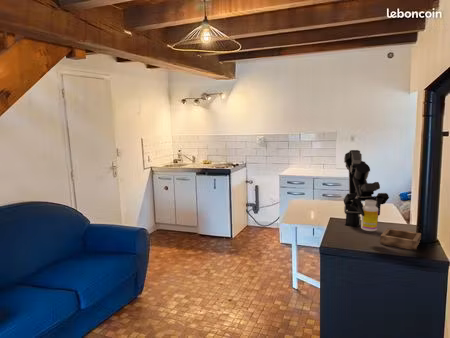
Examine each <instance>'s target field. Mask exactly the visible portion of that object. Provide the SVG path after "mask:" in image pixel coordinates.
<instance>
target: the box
mask: <svg viewBox="0 0 450 338" xmlns="http://www.w3.org/2000/svg"><path fill="white" fill-rule="evenodd" d="M420 240H422V233H421V232H415V231H414V232H413V231H408V230H400V229H395V228H386V229H385V230H384V231H383V233H381V234H380V245H384V246H390V247H396V248H401V249H406V250H412V251H417V249H418V248H419V246H420V244H421V242H420ZM419 243H420V244H419ZM418 245H419V246H418Z"/></svg>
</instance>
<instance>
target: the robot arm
mask: <svg viewBox="0 0 450 338" xmlns="http://www.w3.org/2000/svg"><path fill="white" fill-rule="evenodd" d="M362 155H363V154H362V153H361V150H359V149H350V150H349V151H348V152H346V153H345V154H344V161H343V162H344V163H345V168H346V169H347V170H348V192H349V193H346V194H345V197H344V198H343V203H344V206H343V207H344V209H343V210H344V212H343V213H344V214H345V223H344V226H348V227H349V226H350V227H355V228H357V227H359V226H361V219H362V216H364V211H363V208H362V207H363V206H364V204H363V202H365V200H375V201H376V207H377V208H378V217H379V216H380V215H381V205H385V204H386V202H388V200H389V199H390V196H389V193H387V192H378V193H377V195H374V194H375V192H376V191H377V190H380V188H381V187H380V185H381V184H380V183H379V181H375V182H368V177H369V174H370V172H371V168H370V165H368V164H367V163H366V161H363V160H362V159H363V158H362ZM373 195H374V196H373Z"/></svg>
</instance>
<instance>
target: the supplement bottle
mask: <svg viewBox="0 0 450 338" xmlns="http://www.w3.org/2000/svg"><path fill="white" fill-rule="evenodd" d="M364 204H365V205H363V207H362V208H363V211H364V216H362V215H361V223H360V228H361V229H362V230H363V231H367V232H375V231H377V230H378V222H379V216H378V208H377V207H376V201H375V200H365V201H364Z"/></svg>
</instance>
